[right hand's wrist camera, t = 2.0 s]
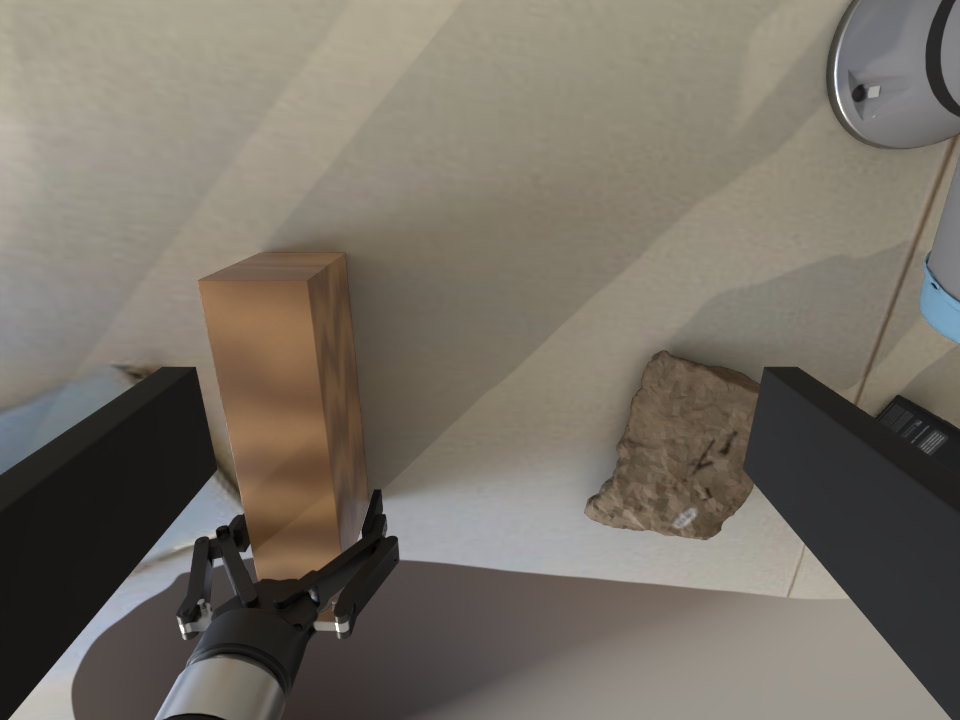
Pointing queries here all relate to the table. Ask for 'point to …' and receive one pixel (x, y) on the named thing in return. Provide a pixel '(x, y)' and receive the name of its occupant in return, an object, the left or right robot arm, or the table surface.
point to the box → (290, 405)
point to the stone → (681, 451)
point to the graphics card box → (924, 431)
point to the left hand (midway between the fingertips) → (321, 499)
